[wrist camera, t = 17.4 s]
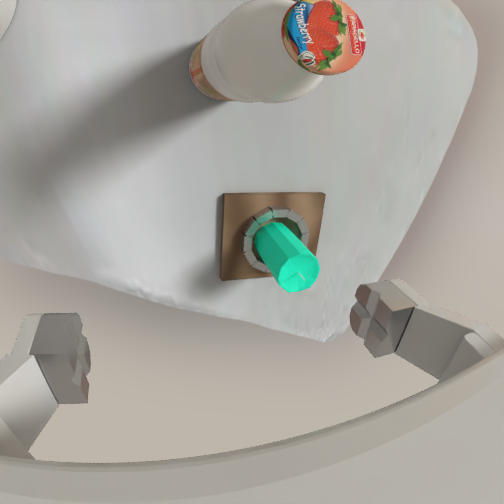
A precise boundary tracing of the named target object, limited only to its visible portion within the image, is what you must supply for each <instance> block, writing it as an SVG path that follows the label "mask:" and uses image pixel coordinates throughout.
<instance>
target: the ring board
mask: <svg viewBox="0 0 504 504" xmlns="http://www.w3.org/2000/svg"><path fill="white" fill-rule="evenodd" d="M325 195H326V194H324V193H308V192H275V193H223V214H222V241H221V273H220V278H221V280H222V281H226V280H237V279H248V278H258V277H269V276H273V275H272V273H271V272H267V273H266V271H265V272H263V271H261V270H259V269H256V268H254V267H252V265H250V263H249V261H248V260H247V258H246V256H245V254H244V253H243V251H242V249H241V236H242V232H243V231H242V230H243V228H244V227H245V225H246V224H247V222H248V221H249V219H250V218H251V216H252V217H254V216H253V215H254V214H256V213H257V212H259V211H261V210H263V209H264V208H266V207H268V208H269V206H287V207H289V208H290V209H292V210H293V211H295V212H297V213H298V214H299V215H301V216H302V217H303V218H304V220H305V223H306V225H307V227H308V230H309V238H308V244H307V249H308V250H309V251H310V252H311V253H312V254H313V255H314V256H316V251H317V245H318V239H319V233H320V227H321V221H322V215H323V208H324V202H325ZM271 222H278V223H282V224H284V225H285V226H286V227H287V228H288V229H289V230H290V231H291V232H292V233H293V234H294V235H295V236H296V237H297V234H298V229H297V227H296V224H295V222H294V221H293V220H291V219H289V218H288V217H276V218H272V219H270V220H268V221H267V222H265V223H263V224H261V225H260V226H259V228H258V230H257V231H256V233H257V232H258V231H259V230H260V229H261V227H262V226H264V225H266V224H268V223H271ZM256 233H255V234H254V236H253V237H252V249H251V250H252V252H253V254H254V256H256V257H258V258H260V259H262V258H261V256H260V255H259V253H258V252H257V250H256V247H255V244H254V241H255V236H256Z"/></svg>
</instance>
